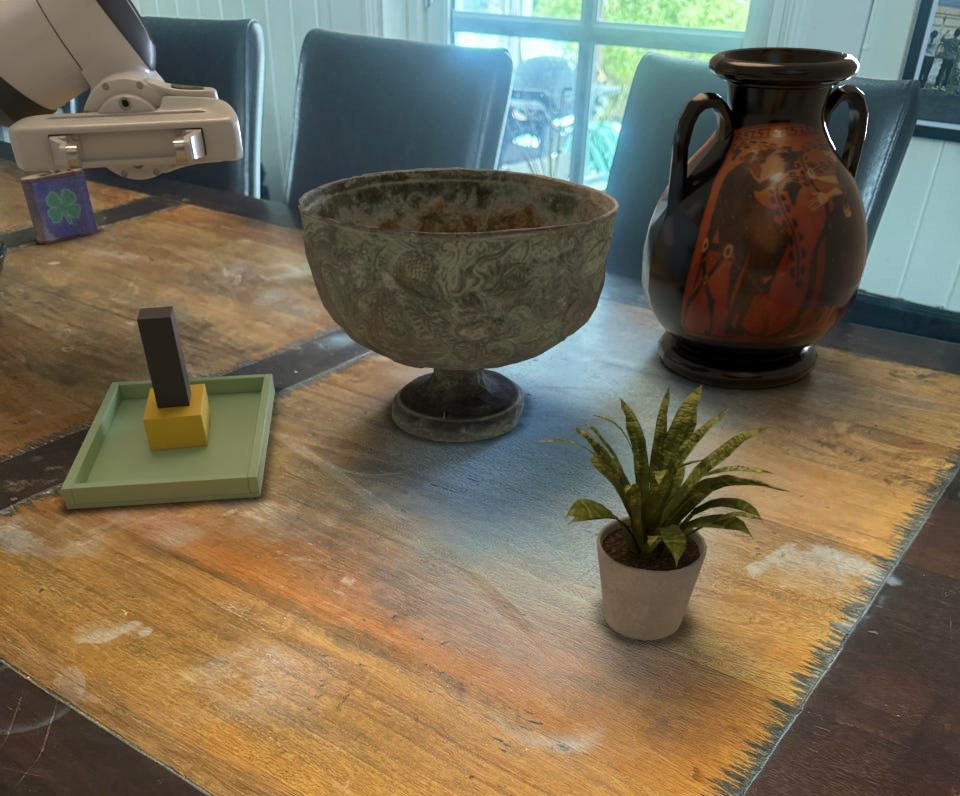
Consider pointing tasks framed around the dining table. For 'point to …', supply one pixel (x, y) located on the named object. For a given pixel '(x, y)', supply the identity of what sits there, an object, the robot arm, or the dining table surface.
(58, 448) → the dining table surface
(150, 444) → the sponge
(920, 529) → the dining table surface
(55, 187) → the flask
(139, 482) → the tray
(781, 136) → the amphora vase
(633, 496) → the house plant
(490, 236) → the decorative bowl
